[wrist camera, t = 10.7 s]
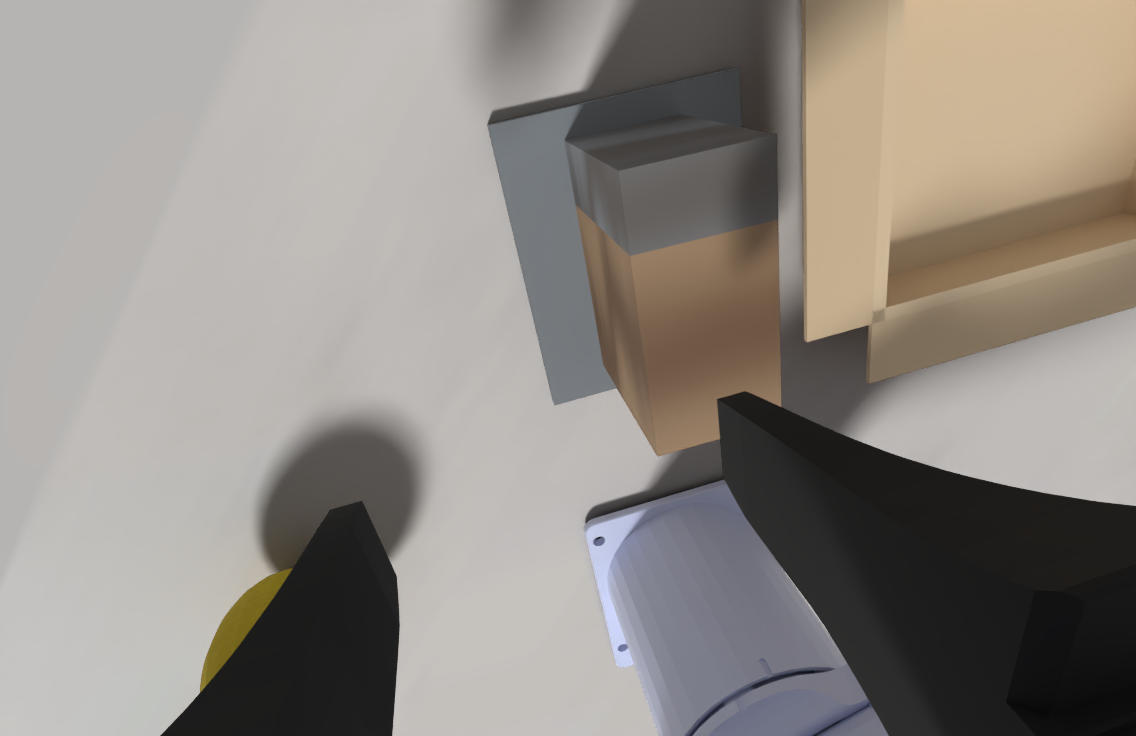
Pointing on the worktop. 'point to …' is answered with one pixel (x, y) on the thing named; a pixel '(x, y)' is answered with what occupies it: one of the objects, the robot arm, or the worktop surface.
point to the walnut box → (682, 268)
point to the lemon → (240, 623)
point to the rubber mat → (550, 216)
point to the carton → (966, 172)
